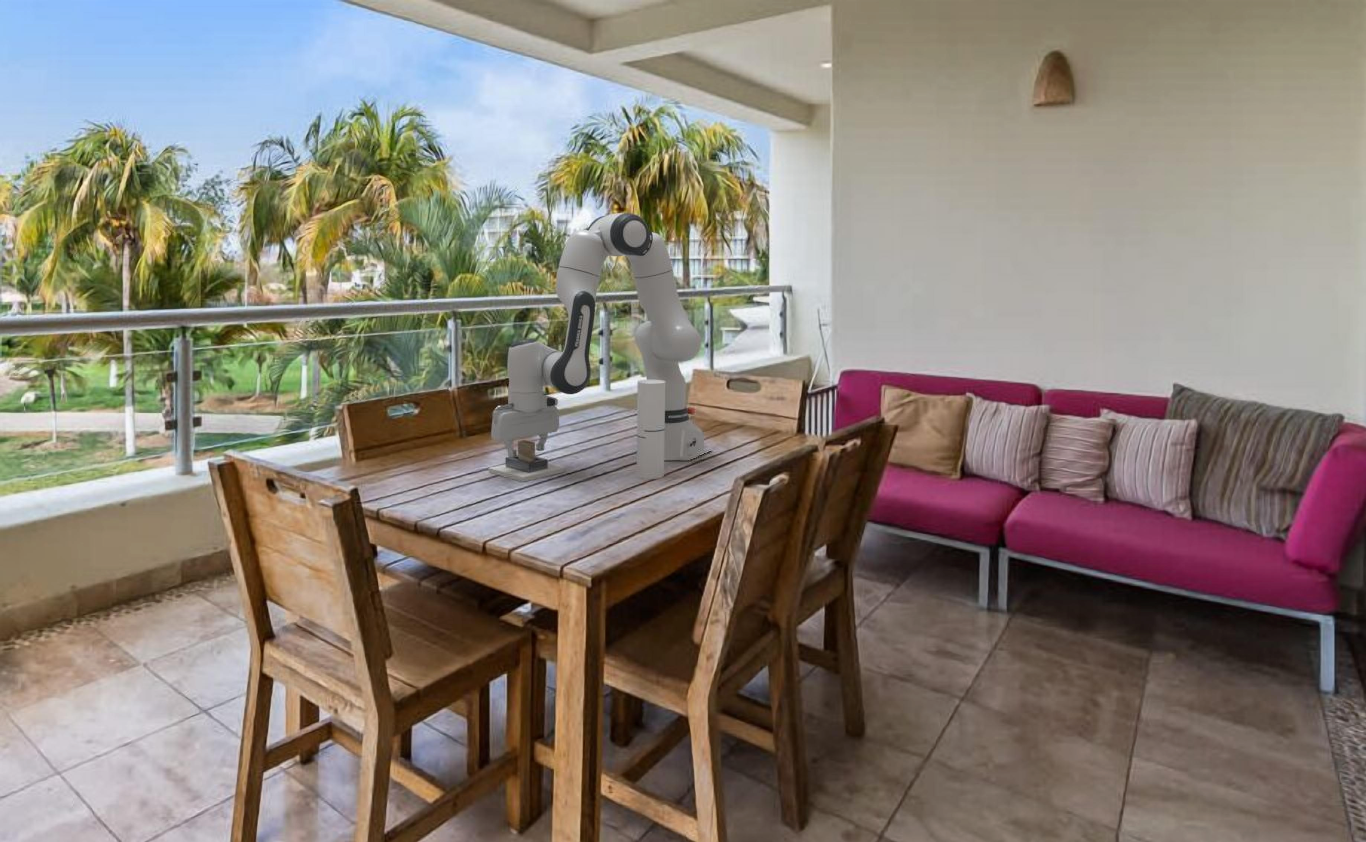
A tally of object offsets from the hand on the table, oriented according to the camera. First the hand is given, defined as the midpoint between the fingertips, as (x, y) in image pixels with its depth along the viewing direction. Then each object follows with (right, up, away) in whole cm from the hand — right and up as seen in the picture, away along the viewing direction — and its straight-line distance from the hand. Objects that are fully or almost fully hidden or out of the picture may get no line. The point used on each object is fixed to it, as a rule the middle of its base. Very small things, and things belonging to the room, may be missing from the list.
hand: (526, 453), depth 214 cm
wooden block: (0, -4, +1) cm, 4 cm away
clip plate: (0, -5, +1) cm, 5 cm away
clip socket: (0, -4, +1) cm, 4 cm away
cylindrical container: (+33, -6, 0) cm, 33 cm away
